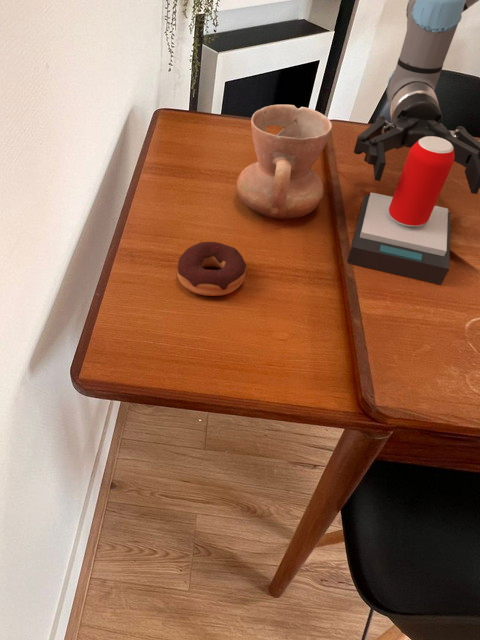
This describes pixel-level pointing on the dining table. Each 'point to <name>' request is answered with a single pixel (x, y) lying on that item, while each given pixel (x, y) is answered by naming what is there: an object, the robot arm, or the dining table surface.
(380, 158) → the robot arm
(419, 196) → the beverage can
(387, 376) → the dining table surface
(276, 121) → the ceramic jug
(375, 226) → the kitchen scale
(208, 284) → the donut
